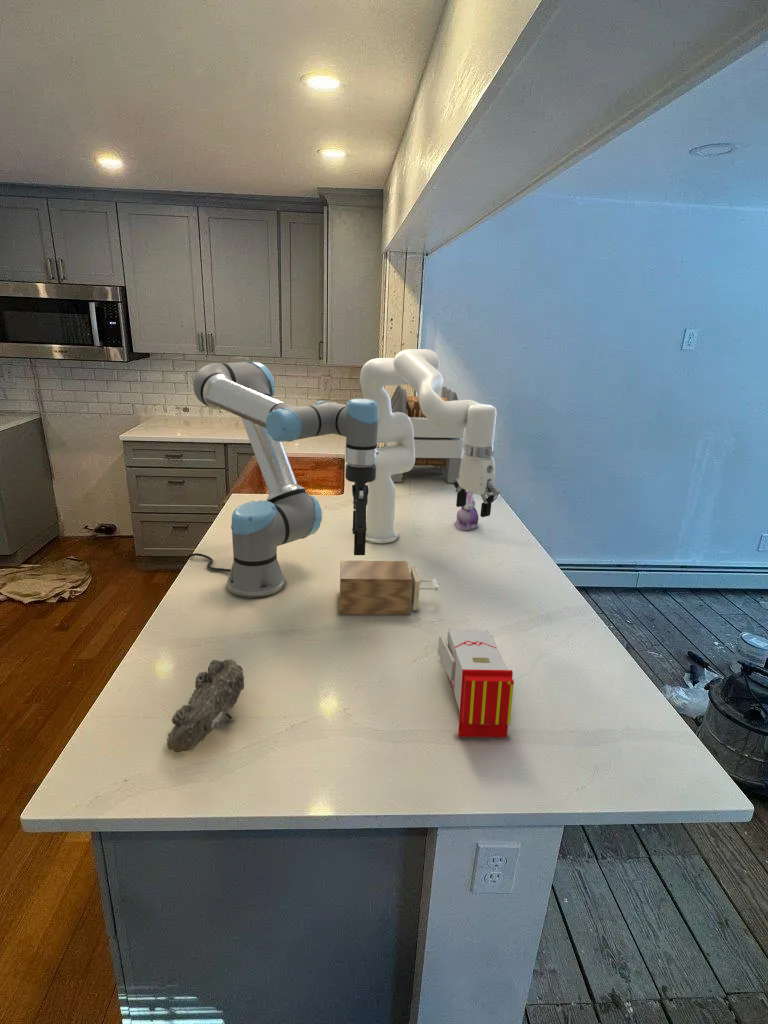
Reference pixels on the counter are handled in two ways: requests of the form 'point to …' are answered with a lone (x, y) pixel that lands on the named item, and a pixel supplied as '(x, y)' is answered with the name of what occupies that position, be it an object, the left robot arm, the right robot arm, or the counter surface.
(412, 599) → the drawer
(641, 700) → the counter surface
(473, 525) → the figurine
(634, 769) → the counter surface
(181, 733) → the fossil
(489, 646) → the toy
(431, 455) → the grey storage bin
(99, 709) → the counter surface
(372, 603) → the cabinet
